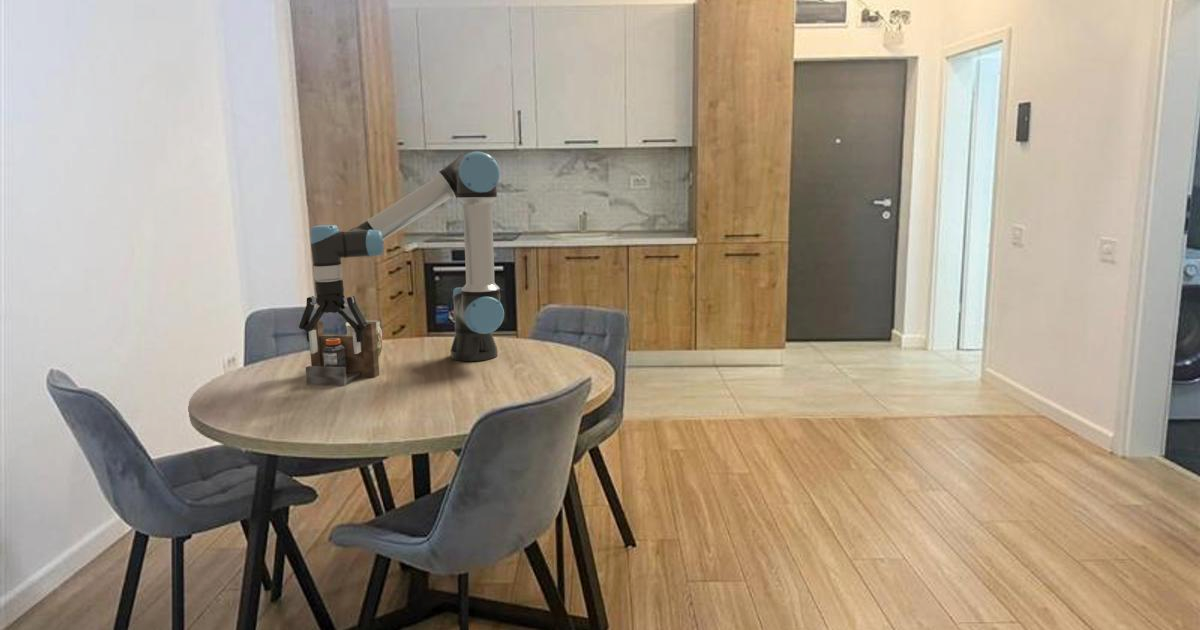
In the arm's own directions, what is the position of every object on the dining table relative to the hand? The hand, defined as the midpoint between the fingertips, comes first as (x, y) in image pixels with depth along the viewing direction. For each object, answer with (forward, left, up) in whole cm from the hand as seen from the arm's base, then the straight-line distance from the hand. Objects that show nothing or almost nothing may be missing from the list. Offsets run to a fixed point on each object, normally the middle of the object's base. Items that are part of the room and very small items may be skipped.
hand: (336, 352), depth 225 cm
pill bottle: (0, 0, -7) cm, 7 cm away
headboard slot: (0, 0, -8) cm, 8 cm away
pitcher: (+1, -21, -8) cm, 22 cm away
